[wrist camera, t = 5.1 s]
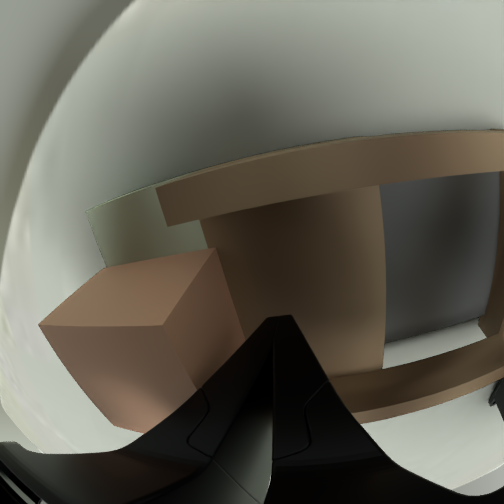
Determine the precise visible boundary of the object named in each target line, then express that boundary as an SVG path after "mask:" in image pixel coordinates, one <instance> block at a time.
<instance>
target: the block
mask: <svg viewBox="0 0 504 504" xmlns="http://www.w3.org/2000/svg"><path fill="white" fill-rule="evenodd" d="M38 325H39V327H40V329H41V330H42V332H43V334H44V335H45V337H46V339H47V340H48V342H49V344H50V345H51V347H52V348H53V350H54V351H55V353H56V354H57V356H58V357H59V359H60V360H61V362H62V363H63V365H64V366H65V367H66V369H67V370H68V372H69V373H70V374H71V376H72V377H73V378H74V380H75V381H76V382H77V384H78V385H79V386H80V387H81V389H82V390H83V391H84V392H85V394H86V395H87V396H88V397H89V398H90V400H91V401H92V402H93V403H94V404H95V406H96V407H97V408H98V409H99V410H100V411H101V412H102V414H103V415H104V416H105V417H106V418H107V419H108V420H109V421H110V422H111V423H112V424H113V425H114V426H117V427H120V428H124V429H128V430H132V431H136V432H140V433H144V434H145V433H146V432H148V431H149V430H150V429H152V428H153V427H154V426H156V425H157V424H158V423H160V422H161V421H162V420H164V419H165V418H166V417H168V416H169V415H170V414H171V413H173V412H174V411H175V410H176V409H178V408H179V407H180V406H181V405H182V404H183V403H184V402H185V401H186V400H188V399H189V398H190V397H191V396H192V395H193V394H194V393H195V392H196V391H197V390H198V389H199V388H202V385H203V384H204V383H205V382H206V381H207V380H208V379H209V378H210V377H211V376H212V375H213V374H214V373H215V372H216V371H217V370H218V369H219V368H220V367H221V366H222V365H223V364H224V363H225V362H226V361H227V360H228V359H229V358H230V357H231V356H232V354H233V353H234V352H235V351H236V350H237V349H238V348H239V347H240V346H241V345H242V344H243V343H244V342H245V341H246V340H245V337H244V334H243V331H242V328H241V325H240V322H239V319H238V316H237V313H236V310H235V307H234V304H233V301H232V298H231V294H230V291H229V288H228V285H227V282H226V279H225V276H224V272H223V269H222V266H221V263H220V260H219V256H218V253H217V250H216V247H214V248H209V249H203V250H198V251H192V252H187V253H181V254H176V255H170V256H165V257H160V258H154V259H149V260H144V261H139V262H133V263H128V264H123V265H118V266H113V267H107V268H103V269H102V270H100V271H99V272H98V273H97V274H96V275H94V276H93V277H92V278H91V279H89V280H88V281H87V282H86V283H85V284H83V285H82V286H81V287H80V288H79V289H78V290H76V291H75V292H74V293H73V294H72V295H71V296H69V297H68V298H67V299H66V300H65V301H64V302H62V303H61V304H60V305H59V306H58V307H57V308H56V309H55V310H54V311H52V312H51V313H50V314H49V315H48V316H47V317H46V318H45V319H44V320H43V321H42V322H40V323H39V324H38Z"/></svg>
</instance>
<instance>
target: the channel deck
mask: <svg viewBox="0 0 504 504" xmlns="http://www.w3.org/2000/svg"><path fill="white" fill-rule="evenodd" d="M86 214H87V216H88V219H89V222H90V225H91V228H92V231H93V233H94V236H95V239H96V241H97V244H98V246H99V249H100V252H101V254H102V256H103V259H104V261H105V264H106V266H107V267H113V266H118V265H123V264H128V263H133V262H139V261H144V260H149V259H154V258H160V257H165V256H170V255H176V254H181V253H187V252H192V251H198V250H203V249H209V248H214V247H216V250H217V253H218V256H219V260H220V263H221V266H222V269H223V272H224V276H225V279H226V282H227V285H228V288H229V291H230V294H231V298H232V301H233V304H234V307H235V310H236V313H237V316H238V319H239V322H240V325H241V328H242V331H243V334H244V337H245V340H247V339H248V337H249V336H250V335H251V334H252V333H253V332H254V331H255V330H256V329H257V328H258V327H259V326H260V324H261V323H262V322H263V321H264V320H265V319H266V318H267V317H272V316H280V315H288V314H291V315H292V316H293V317H294V319H295V321H296V322H297V324H298V326H299V328H300V329H301V331H302V333H303V335H304V336H305V338H306V340H307V342H308V343H309V345H310V347H311V349H312V350H313V352H314V354H315V356H316V357H317V359H318V361H319V363H320V364H321V366H322V368H323V370H324V371H325V373H326V375H327V376H328V378H329V380H330V382H331V383H332V385H333V387H334V388H335V390H336V392H337V393H338V395H339V397H340V398H341V400H342V401H343V403H344V404H345V406H346V407H347V408H348V410H349V411H350V412H351V414H352V415H353V416H354V417H355V419H356V420H357V421H358V422H359V423H360V424H363V423H369V422H374V421H379V420H383V419H388V418H392V417H396V416H400V415H404V414H408V413H412V412H415V411H419V410H422V409H426V408H429V407H432V406H435V405H438V404H441V403H444V402H447V401H450V400H453V399H455V398H458V397H461V396H463V395H466V394H468V393H471V392H473V391H475V390H478V389H480V388H482V387H485V386H487V385H489V384H491V383H493V382H495V381H497V380H499V379H501V378H503V377H504V130H503V129H490V130H447V131H426V132H411V133H399V134H388V135H379V136H369V137H350V138H343V139H337V140H330V141H324V142H318V143H313V144H307V145H302V146H297V147H291V148H286V149H282V150H277V151H272V152H268V153H263V154H259V155H255V156H250V157H246V158H242V159H238V160H234V161H230V162H227V163H223V164H219V165H215V166H212V167H208V168H205V169H201V170H198V171H194V172H191V173H188V174H184V175H181V176H178V177H175V178H171V179H168V180H165V181H162V182H159V183H156V184H153V185H150V186H147V187H144V188H142V189H139V190H136V191H133V192H130V193H128V194H125V195H122V196H120V197H117V198H114V199H112V200H110V201H107V202H105V203H103V204H101V205H98V206H96V207H94V208H92V209H90V210H87V211H86ZM477 317H480V320H479V323H478V326H479V327H480V329H481V330H482V331H483V333H484V334H485V336H486V337H487V338H485V339H483V340H480V341H478V342H475V343H472V344H470V345H467V346H464V347H461V348H458V349H455V350H452V351H449V352H446V353H443V354H440V355H436V356H433V357H429V358H426V359H422V360H419V361H415V362H411V363H407V364H403V365H399V366H395V367H390V368H386V369H382V367H383V355H384V343H387V342H392V341H396V340H400V339H405V338H409V337H413V336H417V335H421V334H424V333H428V332H432V331H435V330H439V329H442V328H446V327H449V326H453V325H456V324H459V323H462V322H465V321H468V320H471V319H474V318H477Z"/></svg>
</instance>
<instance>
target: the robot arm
mask: <svg viewBox="0 0 504 504" xmlns="http://www.w3.org/2000/svg"><path fill="white" fill-rule="evenodd" d="M488 403H489V405H490V406H493V405H495V404H497V406H498V409H499V411H500V413H501V416H502V418H503V421H504V377H503V378H501V380H500V382H499V384H498V386H497V387H496V389H495V391H494V393H493V395H492V396H491V398H490V400H489V402H488ZM270 476H271V480H270ZM269 481H270V485H269ZM268 485H269V488H268ZM267 490H268V491H267ZM0 504H504V486H503V487H501V488H500V489H498V490H496V491H494V492H492V493H489V494H485V495H480V496H468V495H464V494H460V493H457V492H455V491H452V490H450V489H447V488H445V487H443V486H440V485H438V484H436V483H433V482H431V481H429V480H427V479H425V478H423V477H421V476H418V475H416V474H414V473H412V472H410V471H408V470H406V469H404V468H403V467H401V466H399V465H398V464H397V463H395V462H394V461H393V460H392V459H391V458H390V457H389V456H388V455H387V454H386V453H385V452H384V451H383V450H382V449H381V448H380V447H379V446H378V444H377V443H376V442H375V441H374V440H373V439H372V437H371V436H370V435H369V434H368V433H367V432H366V430H365V429H364V428H363V427H362V426H361V425H360V423H359V422H358V421H357V420H356V419H355V417H354V416H353V415H352V414H351V412H350V411H349V410H348V408H347V407H346V406H345V404H344V403H343V401H342V400H341V398H340V397H339V395H338V393H337V392H336V390H335V388H334V387H333V385H332V383H331V382H330V380H329V378H328V376H327V375H326V373H325V371H324V370H323V368H322V366H321V364H320V363H319V361H318V359H317V357H316V356H315V354H314V352H313V350H312V349H311V347H310V345H309V343H308V342H307V340H306V338H305V336H304V335H303V333H302V331H301V329H300V328H299V326H298V324H297V322H296V321H295V319H294V317H293V316H292V315H291V314H288V315H280V316H272V317H267V318H266V319H265V320H264V321H263V322H262V323H261V324H260V326H259V327H258V328H257V329H256V330H255V331H254V332H253V333H252V334H251V335H250V336H249V337H248V339H247V340H246V341H245V342H244V343H243V344H242V345H241V346H240V347H239V348H238V349H237V350H236V351H235V352H234V353H233V354H232V356H231V357H230V358H229V359H228V360H227V361H226V362H225V363H224V364H223V365H222V366H221V367H220V368H219V369H218V370H217V371H216V372H215V373H214V374H213V375H212V376H211V377H210V378H209V379H208V380H207V381H206V382H205V383H204V384H203V385H202V388H199V389H198V390H197V391H196V392H195V393H194V394H193V395H192V396H191V397H190V398H189V399H188V400H186V401H185V402H184V403H183V404H182V405H181V406H180V407H179V408H178V409H176V410H175V411H174V412H173V413H171V414H170V415H169V416H168V417H166V418H165V419H164V420H162V421H161V422H160V423H158V424H157V425H156V426H154V427H153V428H152V429H150V430H149V431H148V432H146V433H145V434H143V435H142V436H141V437H139V438H138V439H136V440H135V441H134V442H132V443H130V444H129V445H127V446H125V447H123V448H120V449H118V450H114V451H109V452H99V453H83V454H43V453H36V452H32V451H29V450H26V449H25V448H23V447H22V446H21V445H20V444H18V443H17V442H0Z"/></svg>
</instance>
